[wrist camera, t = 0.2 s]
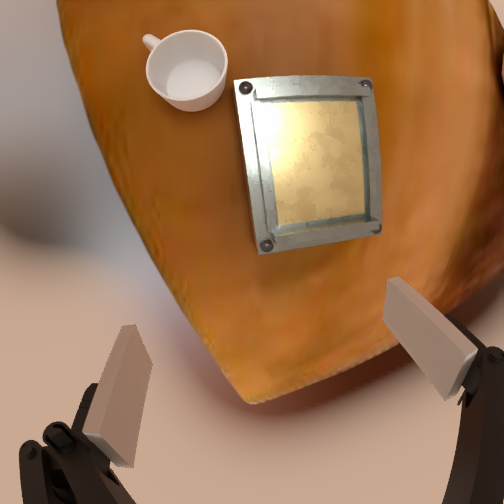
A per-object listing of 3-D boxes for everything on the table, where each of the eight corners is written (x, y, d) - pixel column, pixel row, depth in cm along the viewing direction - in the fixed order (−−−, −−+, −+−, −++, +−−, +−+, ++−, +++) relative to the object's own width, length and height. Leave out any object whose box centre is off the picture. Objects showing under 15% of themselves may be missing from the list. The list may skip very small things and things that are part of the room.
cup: (194, 124, 34) (185, 117, 25) (133, 74, 30) (108, 54, 21) (238, 82, 33) (245, 60, 23) (176, 32, 29) (164, 1, 19)
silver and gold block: (231, 88, 33) (234, 75, 26) (355, 83, 34) (380, 74, 27) (253, 242, 41) (261, 262, 34) (365, 224, 42) (390, 239, 35)
